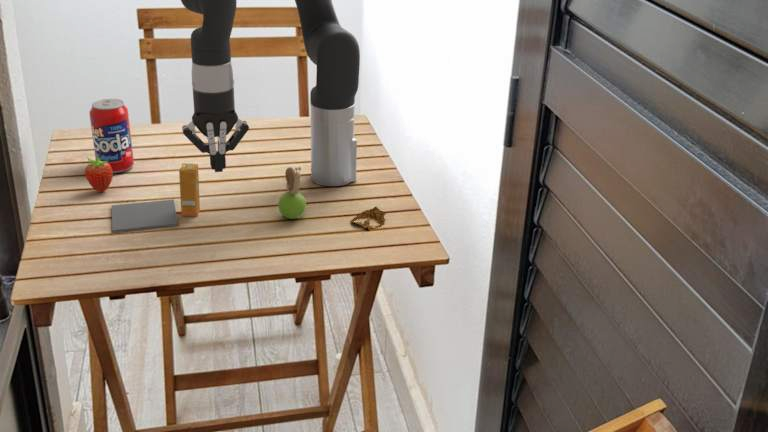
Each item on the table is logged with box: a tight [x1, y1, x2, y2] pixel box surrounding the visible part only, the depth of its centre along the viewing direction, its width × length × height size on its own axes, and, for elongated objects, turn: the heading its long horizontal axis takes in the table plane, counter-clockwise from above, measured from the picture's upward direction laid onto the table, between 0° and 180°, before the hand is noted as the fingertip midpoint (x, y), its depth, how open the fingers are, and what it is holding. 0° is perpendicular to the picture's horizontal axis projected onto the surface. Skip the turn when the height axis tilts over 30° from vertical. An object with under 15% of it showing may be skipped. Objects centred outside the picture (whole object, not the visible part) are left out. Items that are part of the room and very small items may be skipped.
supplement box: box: [178, 162, 201, 217], centre depth 163 cm, size 3×3×10 cm
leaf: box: [350, 206, 386, 231], centre depth 164 cm, size 6×7×2 cm
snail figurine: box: [277, 166, 307, 220], centre depth 161 cm, size 5×6×12 cm
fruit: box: [84, 156, 114, 193], centre depth 171 cm, size 5×5×8 cm
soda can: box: [88, 98, 135, 174], centre depth 180 cm, size 8×8×15 cm
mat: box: [111, 199, 179, 234], centre depth 163 cm, size 12×11×1 cm
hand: (218, 170), depth 163 cm, fingers closed
